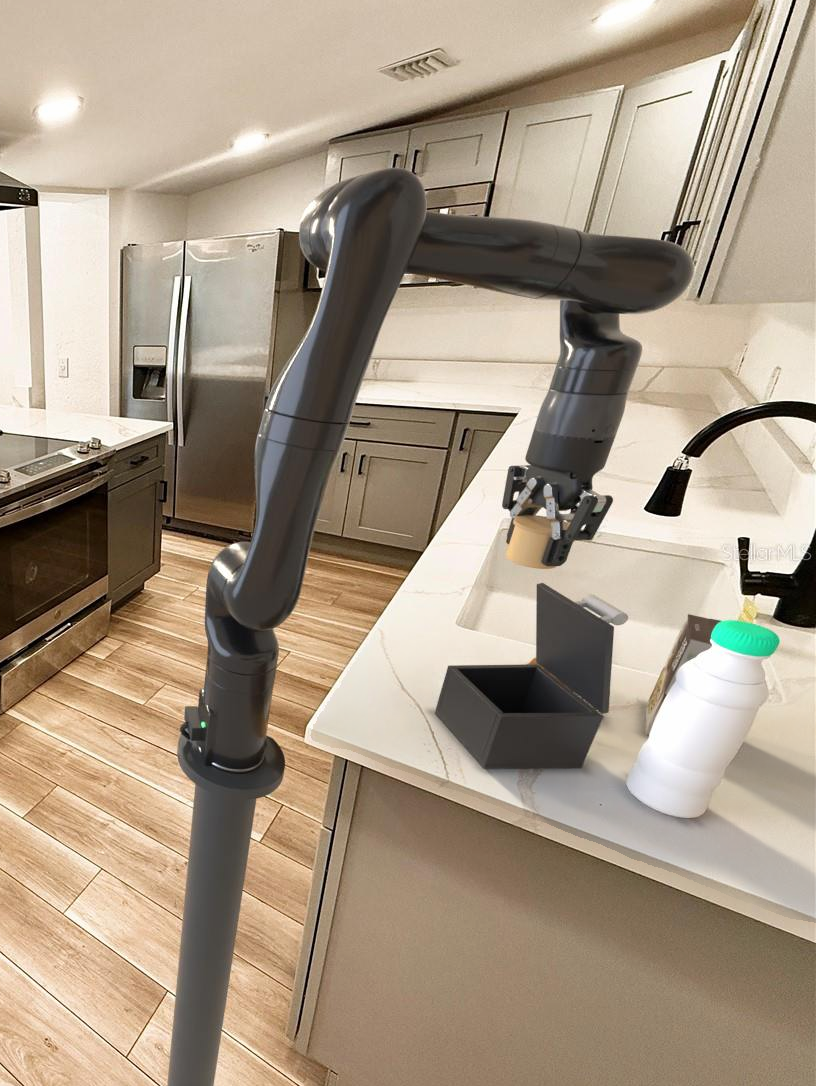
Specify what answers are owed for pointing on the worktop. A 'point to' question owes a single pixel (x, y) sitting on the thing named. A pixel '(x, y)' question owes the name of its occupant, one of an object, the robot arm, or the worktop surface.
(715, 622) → the coffee box
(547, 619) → the lid
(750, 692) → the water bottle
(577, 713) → the hinged dark box
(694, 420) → the worktop surface
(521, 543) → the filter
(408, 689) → the worktop surface
